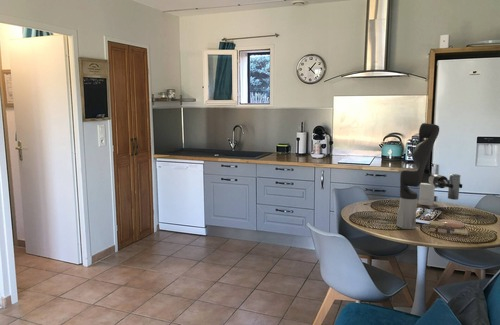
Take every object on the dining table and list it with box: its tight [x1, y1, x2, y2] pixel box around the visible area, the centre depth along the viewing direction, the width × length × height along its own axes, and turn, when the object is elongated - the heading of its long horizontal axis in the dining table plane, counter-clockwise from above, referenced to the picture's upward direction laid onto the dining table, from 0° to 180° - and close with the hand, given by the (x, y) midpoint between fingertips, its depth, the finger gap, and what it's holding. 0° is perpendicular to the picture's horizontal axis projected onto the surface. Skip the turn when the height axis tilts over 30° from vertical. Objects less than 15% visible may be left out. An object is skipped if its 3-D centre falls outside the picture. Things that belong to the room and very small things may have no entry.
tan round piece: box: [438, 218, 465, 229], centre depth 240 cm, size 14×14×1 cm
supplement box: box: [418, 183, 436, 207], centre depth 290 cm, size 9×9×15 cm
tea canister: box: [447, 173, 461, 201], centre depth 237 cm, size 6×6×14 cm
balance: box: [428, 220, 469, 238], centre depth 224 cm, size 19×7×5 cm, turn 62°
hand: (457, 186), depth 235 cm, fingers closed on tea canister, 5 cm apart
